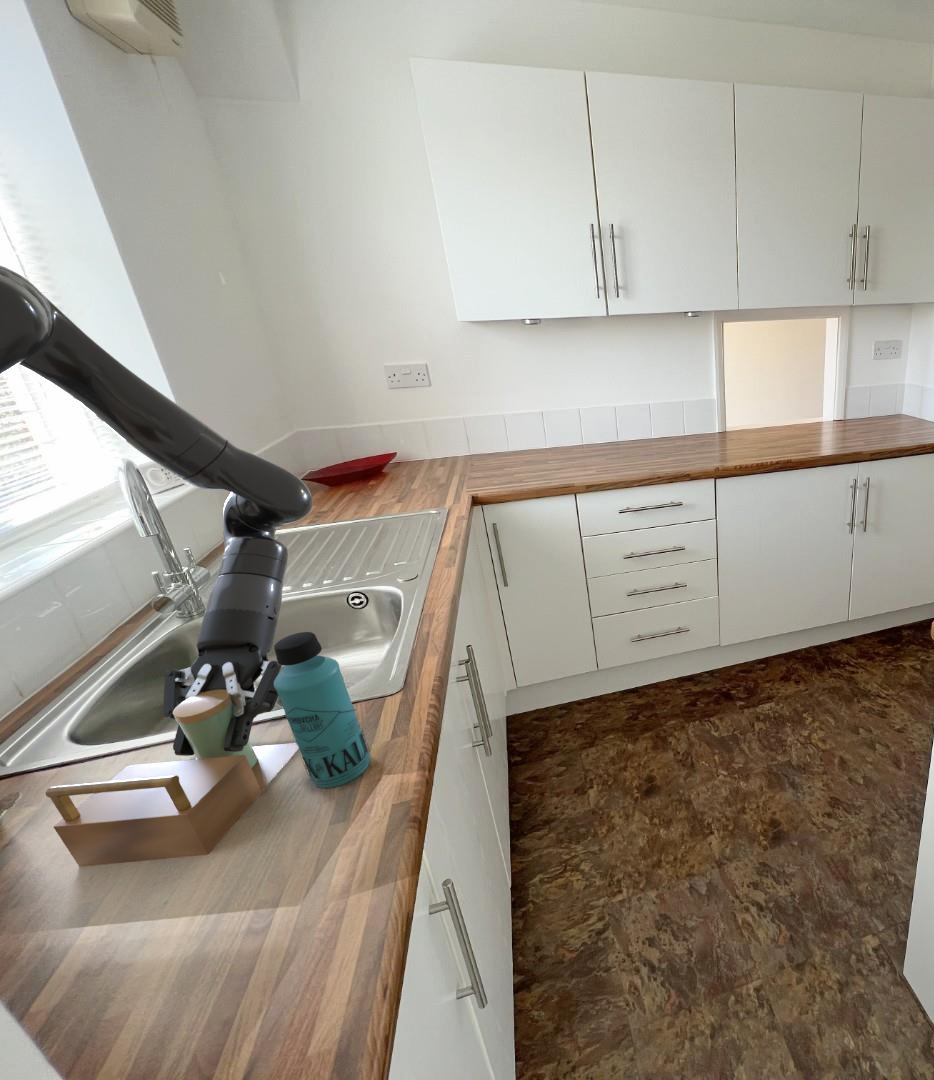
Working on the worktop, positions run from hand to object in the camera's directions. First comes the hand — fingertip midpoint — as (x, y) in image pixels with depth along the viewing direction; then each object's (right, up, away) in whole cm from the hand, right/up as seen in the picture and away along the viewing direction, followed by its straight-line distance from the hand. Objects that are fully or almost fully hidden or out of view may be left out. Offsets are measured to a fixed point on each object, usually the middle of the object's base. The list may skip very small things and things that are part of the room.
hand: (209, 752), depth 69 cm
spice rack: (0, -6, 0) cm, 6 cm away
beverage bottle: (+15, -4, +3) cm, 16 cm away
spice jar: (0, -3, +3) cm, 5 cm away
